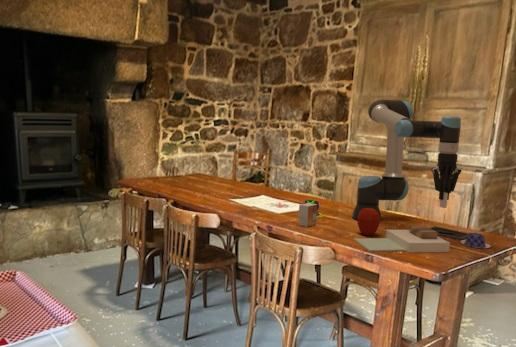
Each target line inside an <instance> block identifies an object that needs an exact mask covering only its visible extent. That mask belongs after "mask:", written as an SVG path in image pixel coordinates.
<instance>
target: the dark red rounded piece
mask: <svg viewBox="0 0 516 347" xmlns="http://www.w3.org/2000/svg"><path fill="white" fill-rule="evenodd" d="M380 222H381V221H380V217H379V214H378V212H377V211H376V210H375V209H373V208H370V206H369V208H364V209H362V210H361V211H360V212H359V214H358V220H357V226H358V229H359V231H360V233H361V234H362V235H363V236H372V235H374V234H375V233H377V230H378V229H379V227H380Z"/></svg>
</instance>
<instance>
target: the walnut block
mask: <svg viewBox="0 0 516 347" xmlns="http://www.w3.org/2000/svg"><path fill="white" fill-rule="evenodd" d="M430 228H431V227H427V226H425V225H410V226H409V230H410V231H409V233H411V234H413V235H415V236H417V237H419V238H420V239H437V237H438V236H437V235H438V232H436V231H434V230H432V229H430Z"/></svg>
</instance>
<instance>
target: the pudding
mask: <svg viewBox="0 0 516 347" xmlns="http://www.w3.org/2000/svg"><path fill="white" fill-rule="evenodd" d="M468 233H469V234H468V236H467V239H465V240H462V241H460V242H459V243H460V244H462V245H464V246H466V247H471V246H472V247H471V248H476V249H489V248H491V247H492V246H491V245H490V244H489V243H486V241H485V236H484V234H482V233H478V232H468ZM464 242H465V243H466V245H465V244H464ZM481 247H482V248H481Z"/></svg>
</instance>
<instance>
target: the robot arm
mask: <svg viewBox="0 0 516 347" xmlns="http://www.w3.org/2000/svg"><path fill="white" fill-rule="evenodd" d="M367 114H368V117H369V118H370V119H371V120H372V121H373V122H376V123H380V124H382V125H384V126H385V127H386V130H387V131H386V132H387V133H386V136H387V137H386V150H385V151H386V155H385V167H384V168H385V169H384V170H385V172H384V173H383V174H382V175H381V176H379V175H366V176H362V177H359V179H358V181H357V192H356V205H355V207H354V209H353V212H352V216H351V217H352V219H353V220H355V221H358V214H359V212H360V211H361V210H362V209H364V208H369V206H370V208H373V209H375V210H376V211H377V212H378V214H379V217H380V222H382V221H381V220H382V215H381V210H380V206H379V204H380V201H394V202H395V201H396V202H397V201H402V200H404V199H406V197H407V195H408V194H409V186H410V185H409V182H408V180H407V179H405V175H404V174H403V173H402V172H403V161H404V160H403V159H404V158H403V157H404V142H405V140H404V138H418V139H419V138H421V139H439V142H438V154H437V162H438V163H437V165H436V167H435V168H431V172H432V176H433V182H434V183H433V184H434V190H435V191H437V192H439V193H438V199H439V207H440V208H441V209H442V208H443V209H447V205H448V200H449V199H450V194H451V193H452V192H454V191H455V190H456V189H455V188H456V186H457V182H458V179H459V176H460V175H461V173H462V169H459V167H458V166H457V163H458V157H459V154H458V153H459V146H460V145H459V144H460V142H459V141H460V135H461V127H462V125H461V123H462V122H461V120H462V119H461V117H460V116H451V115H447V116H446V115H445V116H442V117H441V120H440V121H439V120H438V121H435V120H417V119H416V120H414V119H413V117H414V110H413V107H412V104H411V103H410V102H409V101H408V100H399V99H398V100H397V99H378V100H377V99H376V100H375V101H373V102H372V103H371V104H370V105H369V107H368V109H367Z"/></svg>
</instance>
